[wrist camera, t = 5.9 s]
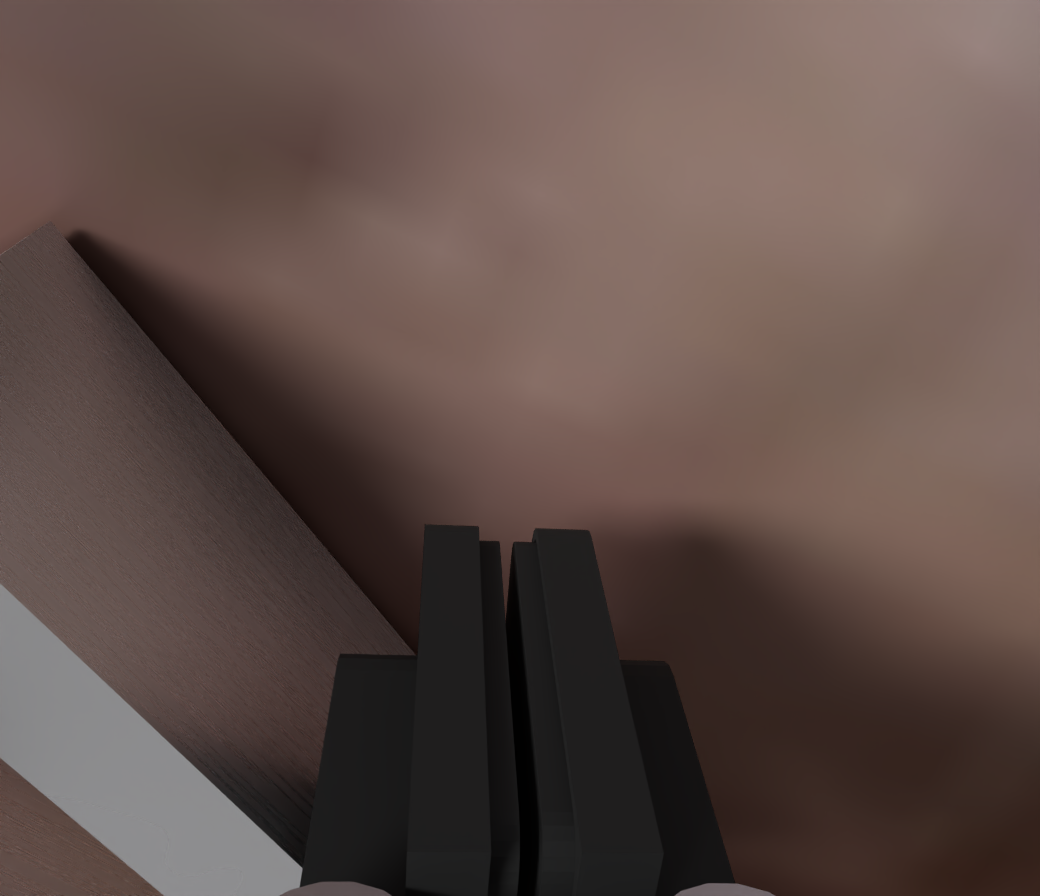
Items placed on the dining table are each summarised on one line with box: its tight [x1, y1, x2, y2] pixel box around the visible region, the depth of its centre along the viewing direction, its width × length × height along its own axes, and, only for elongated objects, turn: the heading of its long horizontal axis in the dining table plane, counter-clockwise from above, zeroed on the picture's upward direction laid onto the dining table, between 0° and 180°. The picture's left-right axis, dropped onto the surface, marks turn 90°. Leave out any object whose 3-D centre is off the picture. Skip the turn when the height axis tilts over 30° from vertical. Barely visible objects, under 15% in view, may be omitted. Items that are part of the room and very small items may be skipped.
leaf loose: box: [0, 221, 415, 896], centre depth 10 cm, size 8×1×4 cm, turn 31°
